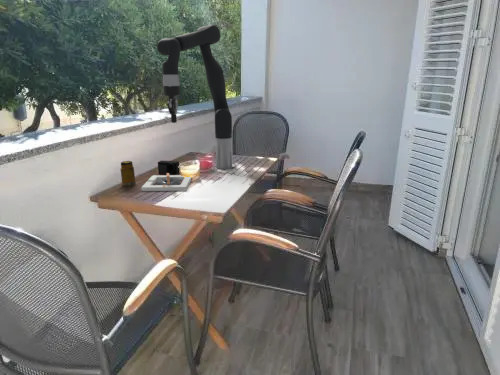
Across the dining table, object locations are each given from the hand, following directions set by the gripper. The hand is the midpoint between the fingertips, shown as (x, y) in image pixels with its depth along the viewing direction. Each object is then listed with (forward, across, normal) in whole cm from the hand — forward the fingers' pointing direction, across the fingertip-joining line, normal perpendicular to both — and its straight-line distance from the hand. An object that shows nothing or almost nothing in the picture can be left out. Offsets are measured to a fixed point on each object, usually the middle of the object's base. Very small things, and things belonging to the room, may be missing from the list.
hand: (174, 122), depth 169 cm
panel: (+29, +9, -3) cm, 31 cm away
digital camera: (+29, -12, -7) cm, 33 cm away
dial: (+28, +9, -3) cm, 30 cm away
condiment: (+29, +9, -21) cm, 37 cm away
